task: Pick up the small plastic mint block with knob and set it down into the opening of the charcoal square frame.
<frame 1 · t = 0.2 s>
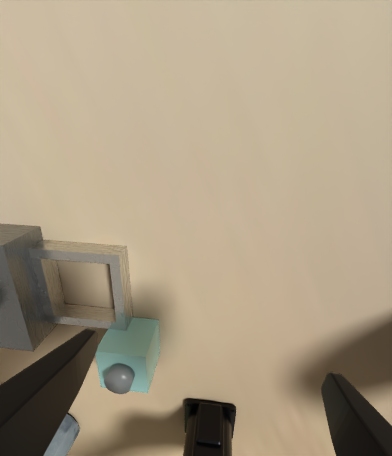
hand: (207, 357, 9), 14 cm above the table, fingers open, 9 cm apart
mint block with knob: (138, 334, 29), on the table
moka pot: (50, 419, 37), on the table
square frame: (17, 274, 27), on the table
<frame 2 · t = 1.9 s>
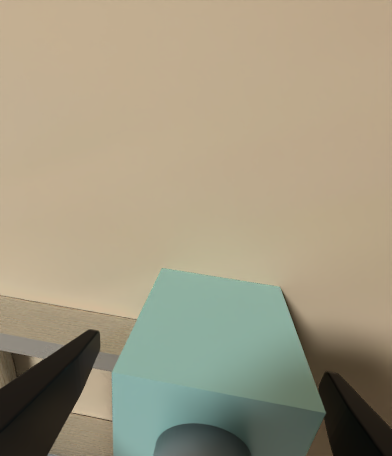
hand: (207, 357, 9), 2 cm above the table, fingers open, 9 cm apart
mint block with knob: (212, 322, 11), on the table
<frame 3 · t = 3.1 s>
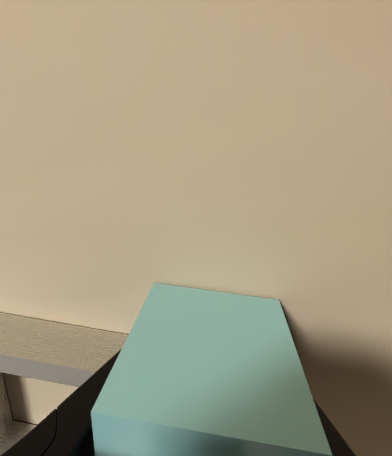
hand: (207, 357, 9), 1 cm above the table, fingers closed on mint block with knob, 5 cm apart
mint block with knob: (208, 339, 11), on the table, touching gripper
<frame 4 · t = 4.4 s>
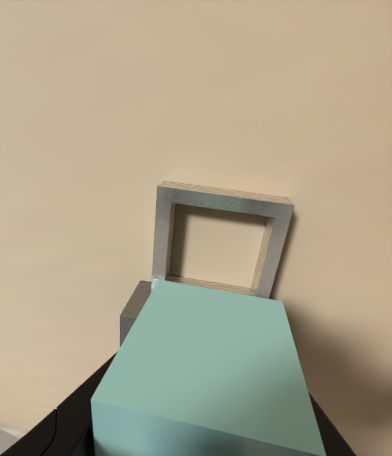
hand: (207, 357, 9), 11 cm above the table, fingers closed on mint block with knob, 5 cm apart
mint block with knob: (211, 338, 11), point 9 cm above the table, touching gripper
square frame: (202, 327, 22), on the table
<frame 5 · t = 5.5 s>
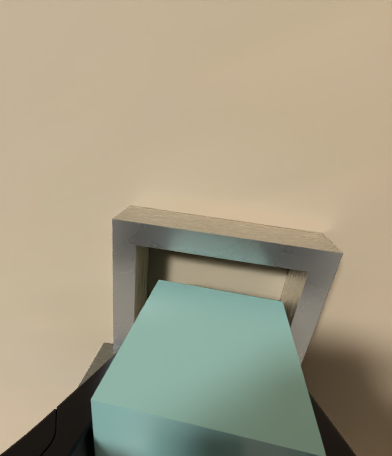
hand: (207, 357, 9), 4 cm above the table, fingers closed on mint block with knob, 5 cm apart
mint block with knob: (211, 338, 11), point 3 cm above the table, touching gripper
square frame: (193, 404, 16), on the table
when the fingers open (3 cm above the table, at t = 6.1 s): mint block with knob drops 2 cm, resting in square frame.
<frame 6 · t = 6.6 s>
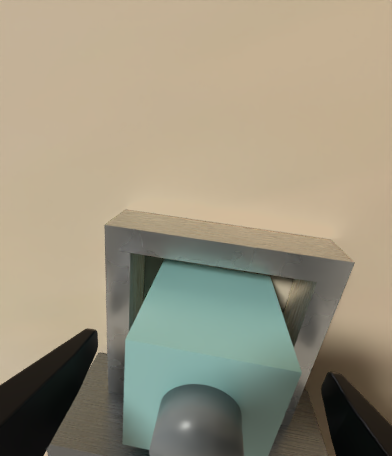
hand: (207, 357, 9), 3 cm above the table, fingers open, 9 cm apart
mint block with knob: (208, 309, 12), resting in square frame
square frame: (192, 416, 15), on the table
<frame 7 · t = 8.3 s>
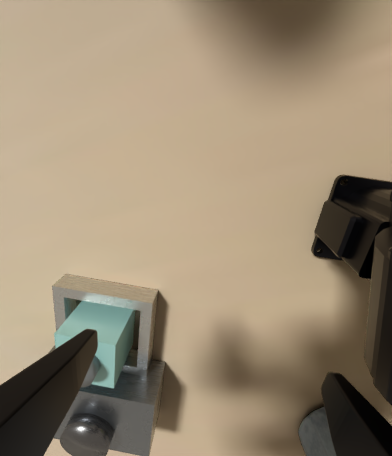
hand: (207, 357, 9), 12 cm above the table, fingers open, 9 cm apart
mint block with knob: (110, 319, 25), resting in square frame
moka pot: (335, 427, 27), on the table
square frame: (110, 377, 28), on the table
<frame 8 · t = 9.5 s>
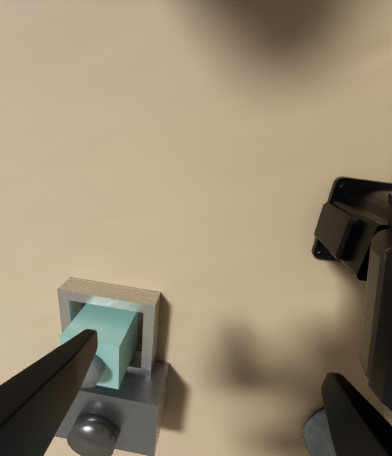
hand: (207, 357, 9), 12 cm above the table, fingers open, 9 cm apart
mint block with knob: (114, 321, 25), resting in square frame
moka pot: (339, 428, 27), on the table
square frame: (115, 378, 28), on the table
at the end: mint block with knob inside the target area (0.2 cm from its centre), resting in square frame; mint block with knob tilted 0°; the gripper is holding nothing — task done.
